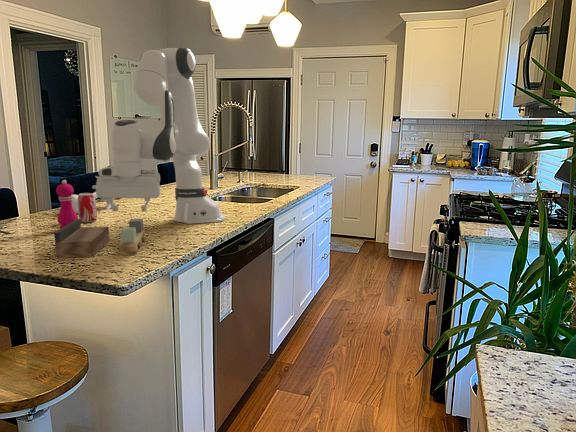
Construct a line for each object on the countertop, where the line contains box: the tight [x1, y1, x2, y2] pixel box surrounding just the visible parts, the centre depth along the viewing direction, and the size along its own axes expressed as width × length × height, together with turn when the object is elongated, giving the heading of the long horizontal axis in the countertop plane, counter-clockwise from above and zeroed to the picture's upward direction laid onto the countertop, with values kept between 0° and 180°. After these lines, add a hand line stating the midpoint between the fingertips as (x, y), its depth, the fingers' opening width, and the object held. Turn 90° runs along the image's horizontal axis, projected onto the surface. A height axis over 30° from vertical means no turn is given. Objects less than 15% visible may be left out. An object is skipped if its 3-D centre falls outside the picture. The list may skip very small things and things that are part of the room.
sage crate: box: [120, 226, 136, 242], centre depth 143 cm, size 4×4×4 cm
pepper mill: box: [55, 179, 79, 230], centre depth 171 cm, size 7×7×20 cm
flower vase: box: [72, 175, 115, 215], centre depth 209 cm, size 13×18×25 cm
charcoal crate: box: [128, 218, 145, 232], centre depth 156 cm, size 4×4×4 cm
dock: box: [53, 218, 110, 258], centre depth 148 cm, size 11×20×8 cm, turn 8°
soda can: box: [77, 192, 98, 224], centre depth 187 cm, size 7×7×12 cm
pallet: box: [118, 228, 147, 256], centre depth 150 cm, size 5×18×4 cm, turn 8°
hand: (129, 210), depth 148 cm, fingers open, 8 cm apart
